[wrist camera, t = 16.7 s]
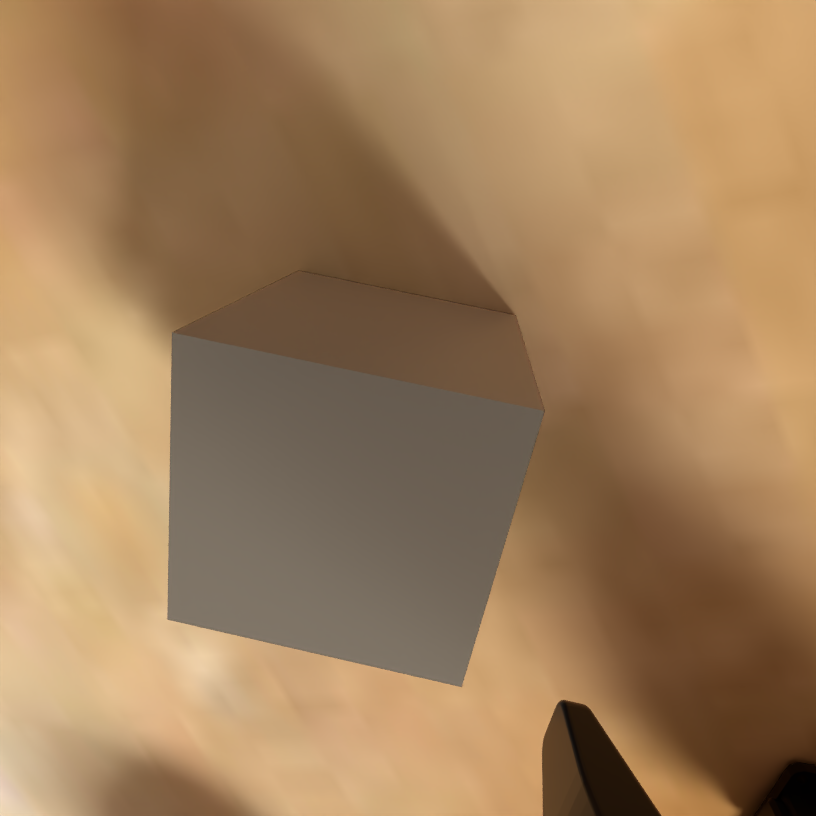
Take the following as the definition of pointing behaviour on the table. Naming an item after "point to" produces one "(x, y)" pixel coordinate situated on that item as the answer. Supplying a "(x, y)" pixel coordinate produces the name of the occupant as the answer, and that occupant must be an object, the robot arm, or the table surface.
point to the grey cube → (347, 470)
